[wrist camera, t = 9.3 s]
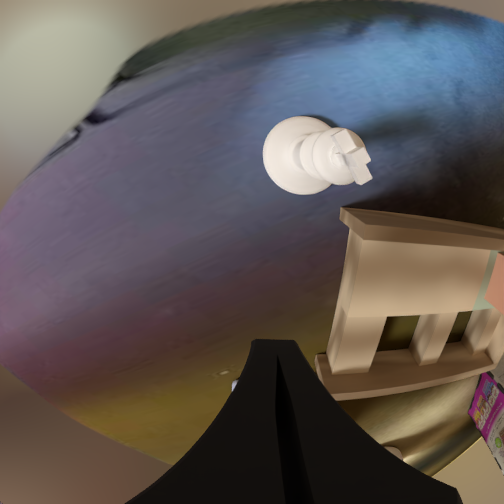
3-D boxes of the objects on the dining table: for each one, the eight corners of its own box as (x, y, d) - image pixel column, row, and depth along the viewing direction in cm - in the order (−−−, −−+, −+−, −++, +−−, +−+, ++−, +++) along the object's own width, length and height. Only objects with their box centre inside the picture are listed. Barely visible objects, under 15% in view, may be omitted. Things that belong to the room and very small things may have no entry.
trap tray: (474, 344, 22) (494, 368, 17) (314, 361, 22) (323, 401, 17) (511, 230, 17) (543, 245, 13) (340, 207, 17) (365, 224, 13)
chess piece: (315, 102, 15) (381, 49, 6) (355, 170, 17) (452, 194, 7) (247, 142, 16) (234, 124, 7) (290, 208, 17) (328, 274, 8)
